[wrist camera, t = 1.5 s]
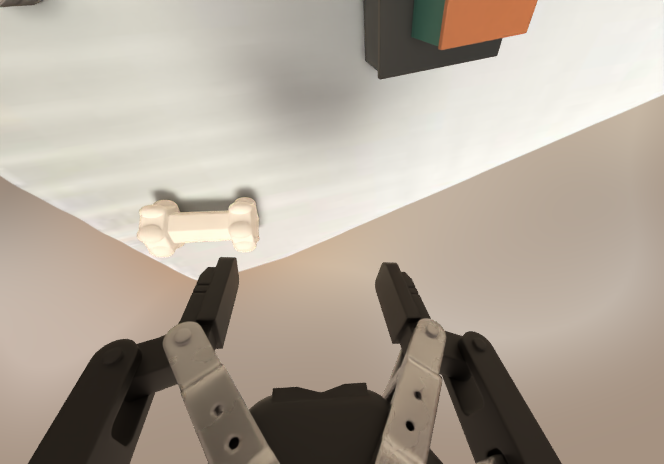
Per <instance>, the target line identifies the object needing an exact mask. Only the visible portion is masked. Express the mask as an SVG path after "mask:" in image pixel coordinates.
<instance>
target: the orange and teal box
mask: <svg viewBox="0 0 664 464" xmlns="http://www.w3.org/2000/svg"><path fill="white" fill-rule="evenodd" d="M537 1H538V0H414V9H413V21H412V34H411V37H413V38H415V39H418V40H421V41H424V42H427V43H430V44H432V45H435V46H438V49H439V50H445V49H450V48H455V47H460V46H465V45H470V44H475V43H479V42H484V41H489V40H494V39H499V38H504V37H509V36H514V35H519V34H524V33H526V32H527V29H528V27H529V24H530V21H531V18H532V15H533V12H534V9H535V6H536V4H537Z"/></svg>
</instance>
